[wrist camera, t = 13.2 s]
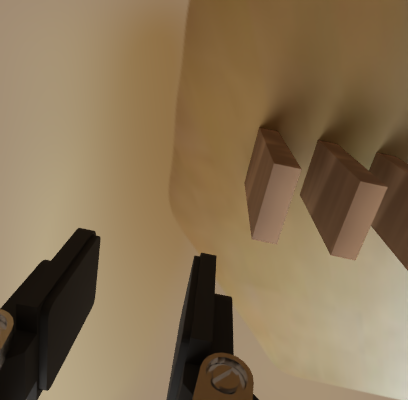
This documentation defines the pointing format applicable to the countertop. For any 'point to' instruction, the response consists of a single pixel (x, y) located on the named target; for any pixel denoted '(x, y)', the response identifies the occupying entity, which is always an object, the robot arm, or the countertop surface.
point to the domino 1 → (270, 185)
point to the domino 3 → (392, 204)
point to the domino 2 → (341, 199)
